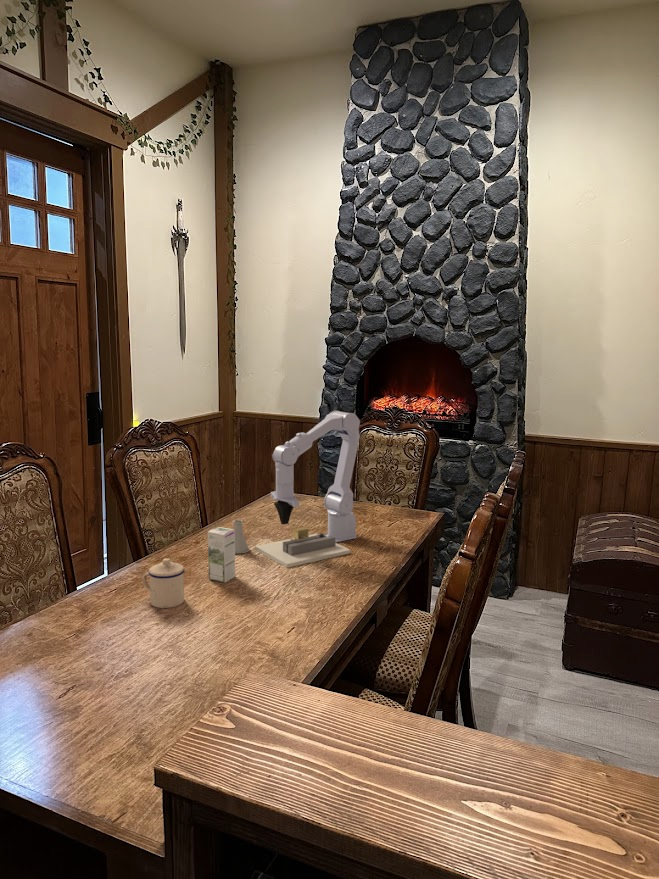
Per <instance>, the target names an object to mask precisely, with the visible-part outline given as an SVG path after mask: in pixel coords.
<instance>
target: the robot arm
mask: <svg viewBox="0 0 659 879" xmlns="http://www.w3.org/2000/svg"><path fill="white" fill-rule="evenodd" d="M360 424H361V420H360V419H359V417H358V416H357V414H355V413H353V412H345V411H339V410H333V411H331V412H330V413H328V414H326V416H325V417H324V419H323V420H321V421H320V422H319V423H317V424H316V425H315V426H314V427H313V428H311V429H310V430H308V431H307V432H306V433H305V432H298V433H296V434H295V436H294V437H293V438H291V439H290V440H289V441H288V440H287V441H286V442H285V443H284V444H282V445H278V446H276V447H275V449H274V450H273V453H271V457H272V458H271V459H272V460H273V461H274V463H275V464H274V466H275V490H274V491H270V498H271V499H272V500H274V501H275V502H274V503H273V505H274V507H275V508H276V511H277V513H278V517H279V522H280V524H281V525H283V526H284V525H288V524H289V522H290V519H291V516H292V512H293V510H294V508H298V507H300V500H298V499H297V498H296V496H295V495H294V493H295V492H294V487H295V486H294V484H295V482H294V474H295V473H294V464H296V462H297V461H298V458H299V457H300V456H301V455H302V454H304V453H305V452H306V451H308V450H309V449H311V448H312V447H313V443H314V441H317V440H318V439H320V438H321V437H323V436H324V435H326V434H327V433H329V432H330V431H334V432H336V433H338V435H339V436H340V438H341V439H342V443H341V448H340V453H339V457H338V462H337V467H336V472H335V477H334V483H333V484H332V485H330V486H329V487H328V489H327V493H326V495H325V496H324V497H323V498H324V499H323V505H324V507H325V508H326V512H327V534H324V535H325V536H326V537H328V536H333V537H336V543H339V542H343V541H348V540H354V539H357V538H358V536H357V534H356V533H357V531H356V530H357V529H356V528H357V520H356V515H355V514H354V512H353V509H354V493H353V490H352V489H351V488H350V487H351V482H352V477H353V472H354V467H355V462H356V457H357V452H358V447H359V442H360Z"/></svg>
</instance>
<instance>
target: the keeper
mask: <svg viewBox="0 0 659 879" xmlns="http://www.w3.org/2000/svg"><path fill="white" fill-rule="evenodd" d="M293 530H294V532H293V536H294V537H293V538H294V540H296V539H301V538H306V537H308V535H309V528H308V527H306V526H302V527H297V528H293Z"/></svg>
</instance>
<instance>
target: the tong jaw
mask: <svg viewBox="0 0 659 879" xmlns="http://www.w3.org/2000/svg"><path fill="white" fill-rule="evenodd" d="M325 535H326V534H324V533H322V532H321V533H320V532H319V533H318V534H317V535H316V536H311V537H306V538H301V539H296V540H291V541H286V542H283V551H284V552H285V553H288V545H289V544H293V543H298V542H303V541H308V540H313V539H318V538H323V537H326V536H325Z"/></svg>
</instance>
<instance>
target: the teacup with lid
mask: <svg viewBox="0 0 659 879" xmlns="http://www.w3.org/2000/svg"><path fill="white" fill-rule="evenodd" d="M185 571H186V570H185V567H184V566H183V565H182V564H180V563H177V562H173V561H171V559H170V558H162V561H161V562H160V563H157V564H154V565H153V566H151V567H149V569H148V571H147V572H145V573H144V574H143V575H142V578H141V581H142V585H143V586H144V588H145V589H146V590H147V591H149V595H150V596H149V598H150V604H151V606H153V607H154V608H157V609H171V608H175V607H178V606H180V605H182V604H183V603H184V601H185V576H184V574H185ZM147 576H149V583H148V581H147Z"/></svg>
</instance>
